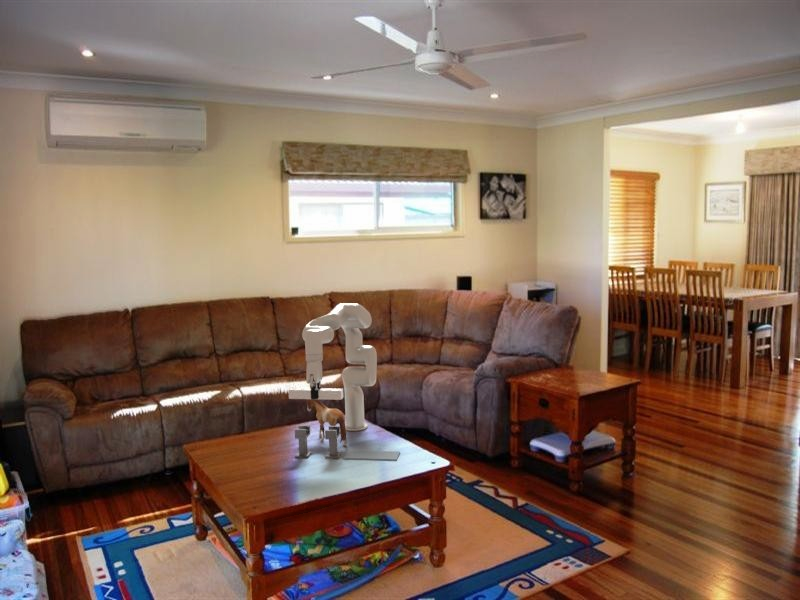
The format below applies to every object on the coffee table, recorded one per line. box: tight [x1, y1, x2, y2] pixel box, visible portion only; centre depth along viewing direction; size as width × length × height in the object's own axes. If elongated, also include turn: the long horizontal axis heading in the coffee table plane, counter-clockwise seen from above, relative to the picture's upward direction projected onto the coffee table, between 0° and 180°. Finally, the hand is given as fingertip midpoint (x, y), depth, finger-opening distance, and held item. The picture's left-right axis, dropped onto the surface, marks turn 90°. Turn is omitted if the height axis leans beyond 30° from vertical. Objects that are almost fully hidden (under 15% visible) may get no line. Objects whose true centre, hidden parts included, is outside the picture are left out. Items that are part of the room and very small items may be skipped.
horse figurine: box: [306, 399, 348, 447], centre depth 318 cm, size 31×8×21 cm, turn 39°
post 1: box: [294, 424, 313, 459], centre depth 302 cm, size 7×6×13 cm
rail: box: [288, 387, 344, 401], centre depth 299 cm, size 4×24×4 cm, turn 81°
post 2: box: [324, 425, 343, 460], centre depth 300 cm, size 7×6×13 cm
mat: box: [342, 449, 401, 461], centre depth 300 cm, size 10×24×1 cm, turn 81°
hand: (316, 397), depth 299 cm, fingers closed on rail, 4 cm apart
